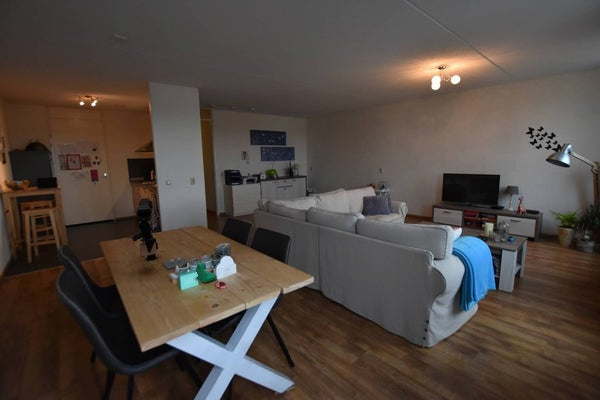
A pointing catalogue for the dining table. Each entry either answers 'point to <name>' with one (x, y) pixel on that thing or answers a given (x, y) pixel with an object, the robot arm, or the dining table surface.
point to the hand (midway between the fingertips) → (148, 251)
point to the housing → (145, 252)
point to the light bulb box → (223, 249)
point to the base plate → (173, 263)
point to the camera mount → (204, 273)
